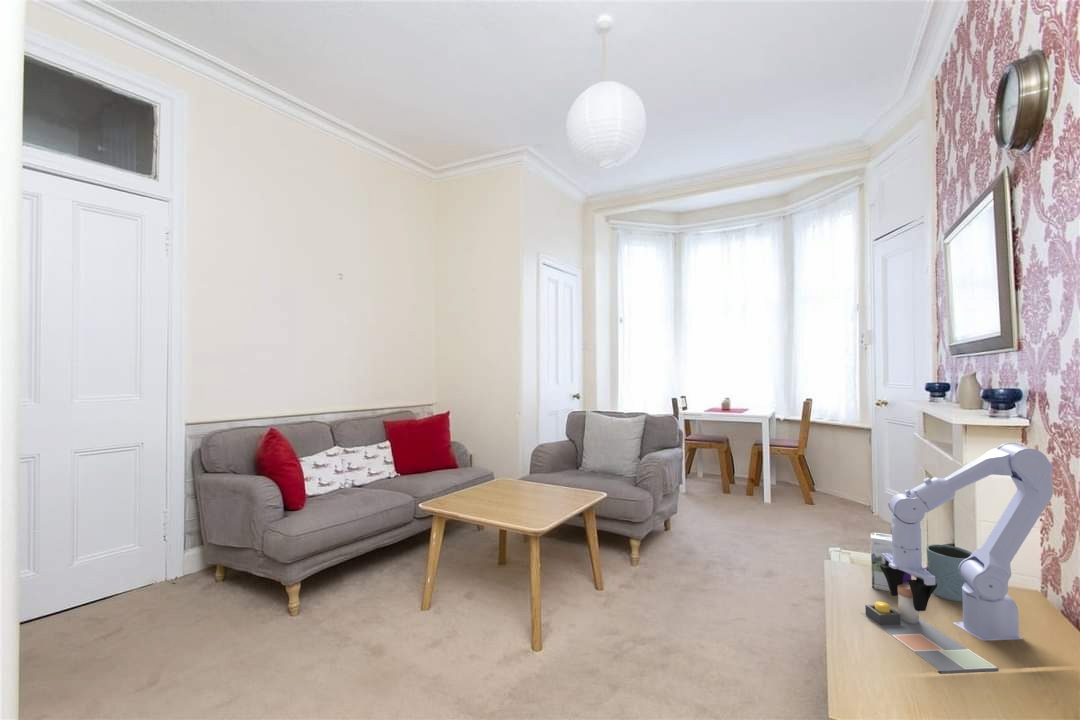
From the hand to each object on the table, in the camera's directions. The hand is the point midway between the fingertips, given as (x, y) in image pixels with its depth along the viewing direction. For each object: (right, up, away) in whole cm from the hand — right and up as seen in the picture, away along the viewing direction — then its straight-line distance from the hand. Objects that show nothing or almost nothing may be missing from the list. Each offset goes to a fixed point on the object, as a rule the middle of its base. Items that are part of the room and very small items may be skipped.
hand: (907, 602), depth 123 cm
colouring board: (-3, -5, -8) cm, 10 cm away
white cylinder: (0, -4, 0) cm, 4 cm away
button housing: (-6, -4, 0) cm, 7 cm away
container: (+14, -5, +23) cm, 27 cm away
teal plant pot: (+21, -5, +13) cm, 25 cm away
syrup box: (+6, -5, +18) cm, 20 cm away
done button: (-6, -4, 0) cm, 7 cm away
